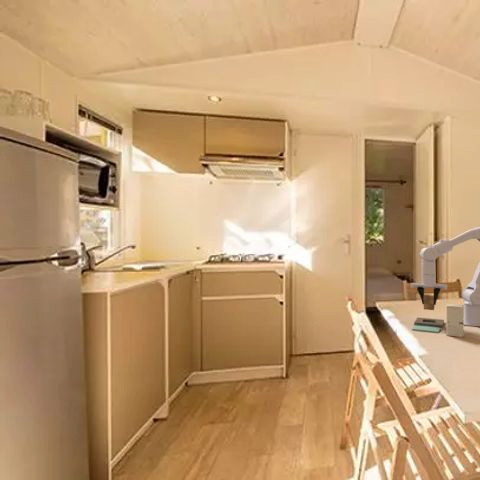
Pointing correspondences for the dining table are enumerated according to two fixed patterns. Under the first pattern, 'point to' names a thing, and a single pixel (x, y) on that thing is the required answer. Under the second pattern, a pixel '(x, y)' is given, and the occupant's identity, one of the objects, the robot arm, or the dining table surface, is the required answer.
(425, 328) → the mat
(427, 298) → the brown block
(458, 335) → the skincare box
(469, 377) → the dining table surface
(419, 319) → the socket plate
